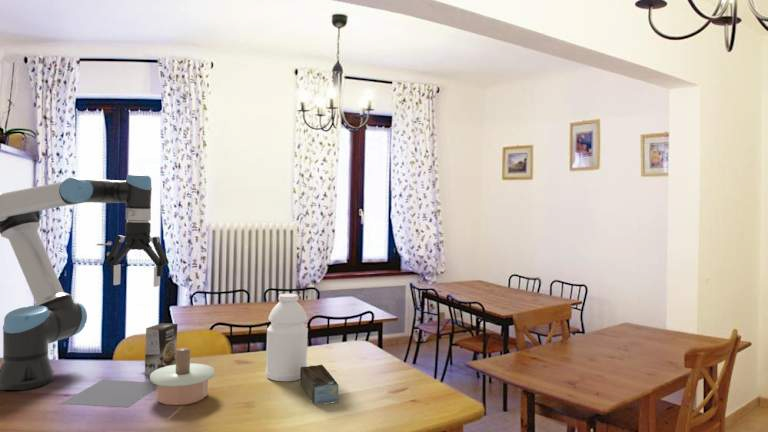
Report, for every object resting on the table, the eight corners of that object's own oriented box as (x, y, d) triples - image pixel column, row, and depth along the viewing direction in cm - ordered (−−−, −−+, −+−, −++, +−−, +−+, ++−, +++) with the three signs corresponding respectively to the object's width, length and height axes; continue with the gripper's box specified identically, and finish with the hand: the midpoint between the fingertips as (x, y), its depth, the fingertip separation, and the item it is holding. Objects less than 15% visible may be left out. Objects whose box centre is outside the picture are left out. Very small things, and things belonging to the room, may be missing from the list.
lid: (137, 384, 146) (138, 357, 145) (167, 365, 164) (167, 340, 163) (199, 387, 145) (200, 359, 145) (222, 367, 163) (223, 342, 163)
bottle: (259, 380, 171) (261, 297, 171) (274, 367, 185) (276, 290, 184) (299, 383, 169) (301, 299, 169) (311, 370, 183) (314, 292, 182)
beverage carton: (313, 406, 151) (313, 384, 151) (299, 384, 169) (299, 365, 169) (338, 403, 154) (339, 381, 154) (322, 382, 172) (323, 363, 172)
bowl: (147, 405, 148) (148, 382, 147) (170, 387, 162) (170, 367, 162) (195, 407, 147) (195, 385, 147) (213, 390, 161) (214, 369, 161)
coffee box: (160, 377, 171) (162, 329, 171) (143, 375, 172) (145, 327, 172) (177, 369, 180) (178, 323, 180) (160, 367, 181) (161, 322, 181)
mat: (60, 404, 146) (60, 403, 146) (102, 381, 166) (102, 379, 166) (128, 408, 145) (128, 407, 145) (162, 384, 165) (162, 382, 165)
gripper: (94, 220, 166) (93, 285, 167) (169, 223, 165) (168, 288, 165) (108, 219, 174) (106, 282, 174) (180, 222, 172) (178, 285, 173)
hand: (136, 285), depth 170 cm, fingers open, 13 cm apart
